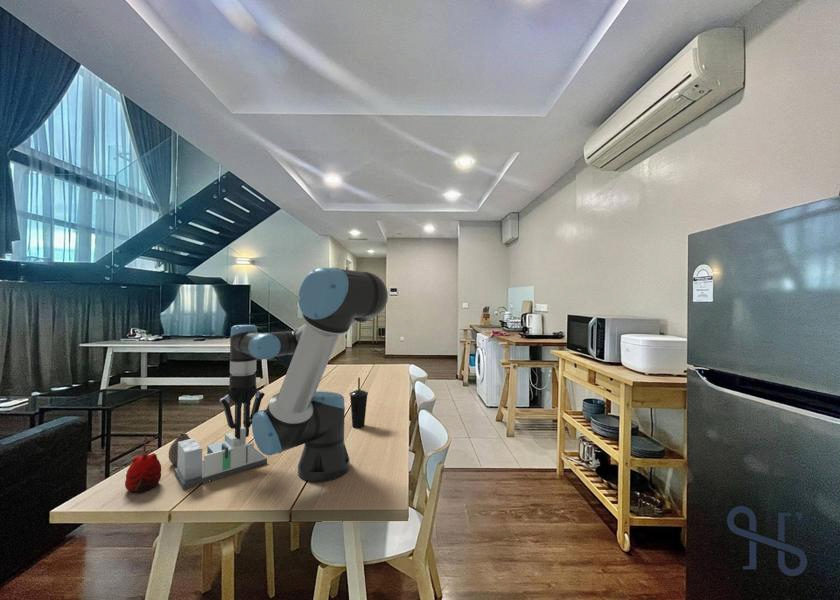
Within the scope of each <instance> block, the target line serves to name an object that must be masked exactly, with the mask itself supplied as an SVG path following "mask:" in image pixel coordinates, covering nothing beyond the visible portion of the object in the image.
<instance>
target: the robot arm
mask: <svg viewBox="0 0 840 600" xmlns="http://www.w3.org/2000/svg"><path fill="white" fill-rule="evenodd" d="M388 295H389V293H388V288H387V286H386V283H385V282H384V281H383V280H382V279H381V278H380V277H379V276H378V275H376V274H374V273H372V272H369V271H360V270H359V271H358V270H351V269H342V268H339V267H318V268H316V269H313V270H312V271H310V272H309V273H308V274H307V275H306V276H305V278H304V279H303V281H302V282H301V284H300V287H299V291H298V297H299V300H298V306H299V308H300V311H301V313H302V318H303V320H304V322H305V323H304V324H303V325H301V326H299V328H297V329H295V330H291V331H273V332H270V331H269V332H258V327H257V325H255V324H236V325H233V326H231V328H230V336H229V340H230V341H229V343H230V344H229V345H230V346H229V353H230V354H229V374H230V375H229V387H228V388H229V390H228V391H227V394H226V395H225V396H224V397H220V398H219V400H218V401H219V402H220V404H221V405H222V407H223V410H224V414H225V417H226V422H227V426H228V428H229V429H232V430H233V429H234V436H235V437H236V438H237V439H238V440H239V441H240V443H239V446H241V445H245V444H246V443H247V442H246V441H247V437H249V435H250V427H251V430H252V436H253V439H254V444H256V447H257V448H258V451H259V452H260V453H261V454H262V455H265V456H273V455H276V454H281V453H283V452H286V451H288V450H291V449H294V448H297V447H299V446H302V445H303V450H302V452H301V456H300V457H299V461H298V464H297V475H298V476H299V478H301V479H302V480H304V481H308V482H318V483H319V482H326V481H327V482H328V481H330V480H331V481H332V480H335V479H338V478H341V477H342V476H343V475H346V473H348V472H349V470H350V460H351V459H350V456H349V453H348V449H347V447H346V444H345V413H346V412H345V411H346V406H345V397H344V396H343V395H342V394H341V393H338V392H332V391H323V390H322V391H321V390H320V391H319V390H318V387H319V385H320V383H321V380H322V377H323V375H324V373H325V371H326V368H327V366H328V363H329V362H330V360H331V357H332V354H333V352H334V349H335V347H336V344H337V342H338V340H339V339H340V338H339V337H340V335H343V334H346V333H347V332H349V329H350V327H351V326H353V325H355V324H356V323H365V322H367V321H369V320H372V319H374V318H375V317H377V316H378V315H379V314H381V313H382V312H383V311H384V309H385V308H386V306H387V304H388V299H389V296H388ZM289 355H291V356H292V355H293V356H292V358H291V361H290V363H289V367H288V369H287V371H286V374H285V377H284V378H283V382H282V385H281V387H280V389H279V392H277V393H276V394H274V395H273V396H272V397H271V398H269V402H268V404H267V407H266V409H263V410H262V409H261V410H260V406H261V403H262V400H263V398H264V396H265V393H264V392H262V391H259V390H258V388H257V373H256V371H257V359H258V360H271V359H273V358H275V357H282V356H289ZM317 390H318V391H317ZM254 397H255V398H254ZM253 399H254V401H253V405H252V408H251V401H252V400H253ZM230 400H231V401H232V402H233V403H234V418H233V414H232V410H231V407H230V404H229V403H230ZM242 408H243V409H242ZM242 411H243V413H242ZM242 415H243V416H242ZM242 420H243V421H242Z"/></svg>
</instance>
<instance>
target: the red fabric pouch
mask: <svg viewBox="0 0 840 600" xmlns="http://www.w3.org/2000/svg"><path fill="white" fill-rule="evenodd" d="M142 439H143V447H142V455H136V456H135V457H134V458H133V459H132V463H131V464H130V465H129V468H128V469H127V470H126V474H125V482H124V487H125V489H126V491H128V492H130V493H135V494H136V493H142V492H146V491H149V490H151V489H153V488H154V487H156V486H157V485H158V484H159V482H160V481H161V479H162V464H161V462H160V460H159V459H158V457H157V454H156V453H154V452H153V453H151V454H147V452H146V449H147V442H152V443H155V439H156V438H151V439H148V437H147V434H146V435H144V436H142Z"/></svg>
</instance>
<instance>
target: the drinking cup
mask: <svg viewBox="0 0 840 600" xmlns="http://www.w3.org/2000/svg"><path fill="white" fill-rule="evenodd" d="M357 383H358V384H357V389H356V390H353V391H351V392H349V398H350V399H349V400H350V410H351V423H352V424H351V426H352V428H354V429H362V428H364V427H365V424H366V423H365V420H366V411H367V402H368V395H369V392H368V391H365V390H363V389H361V388H360V387H361V385H360V384H361V378H360V377H358V381H357ZM361 427H362V428H361Z"/></svg>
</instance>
